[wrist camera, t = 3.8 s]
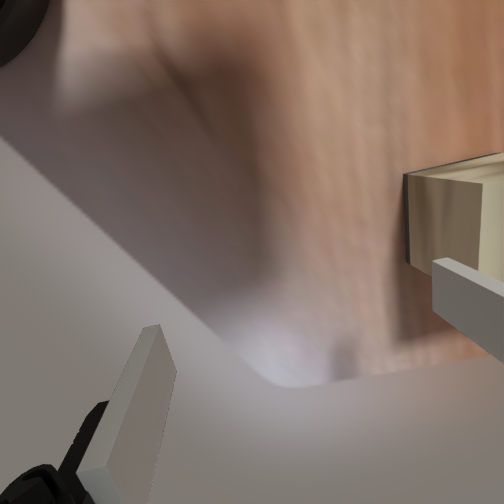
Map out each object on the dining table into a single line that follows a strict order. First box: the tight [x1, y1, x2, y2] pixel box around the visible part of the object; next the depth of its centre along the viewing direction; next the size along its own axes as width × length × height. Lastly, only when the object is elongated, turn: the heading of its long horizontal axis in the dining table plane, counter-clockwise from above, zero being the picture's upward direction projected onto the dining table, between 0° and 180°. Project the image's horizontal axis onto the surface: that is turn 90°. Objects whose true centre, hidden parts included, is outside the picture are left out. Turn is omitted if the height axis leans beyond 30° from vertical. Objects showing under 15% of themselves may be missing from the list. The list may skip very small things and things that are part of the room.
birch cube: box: [403, 153, 504, 283], centre depth 19 cm, size 7×7×7 cm
